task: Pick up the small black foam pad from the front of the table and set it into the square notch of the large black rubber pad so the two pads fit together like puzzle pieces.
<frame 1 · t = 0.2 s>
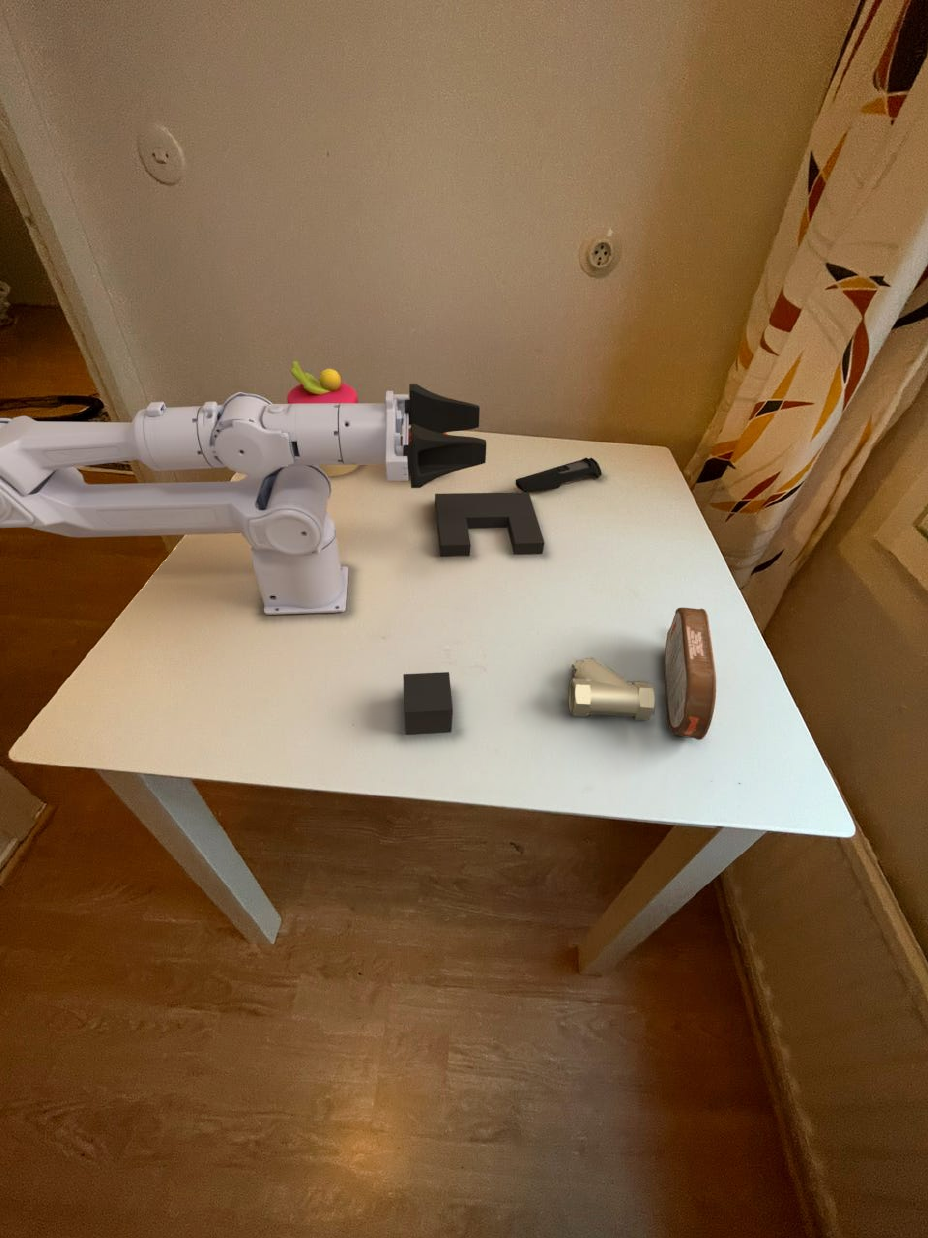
hand: (482, 433, 55), 21 cm above the table, tool horizontal, fingers open, 7 cm apart
electric trimmer: (558, 485, 89), on the table
cake: (331, 460, 91), on the table
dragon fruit: (424, 469, 90), on the table
pipe fitting: (603, 698, 60), on the table
pad: (427, 714, 57), on the table
tin: (674, 694, 61), on the table
pad base: (486, 528, 80), on the table
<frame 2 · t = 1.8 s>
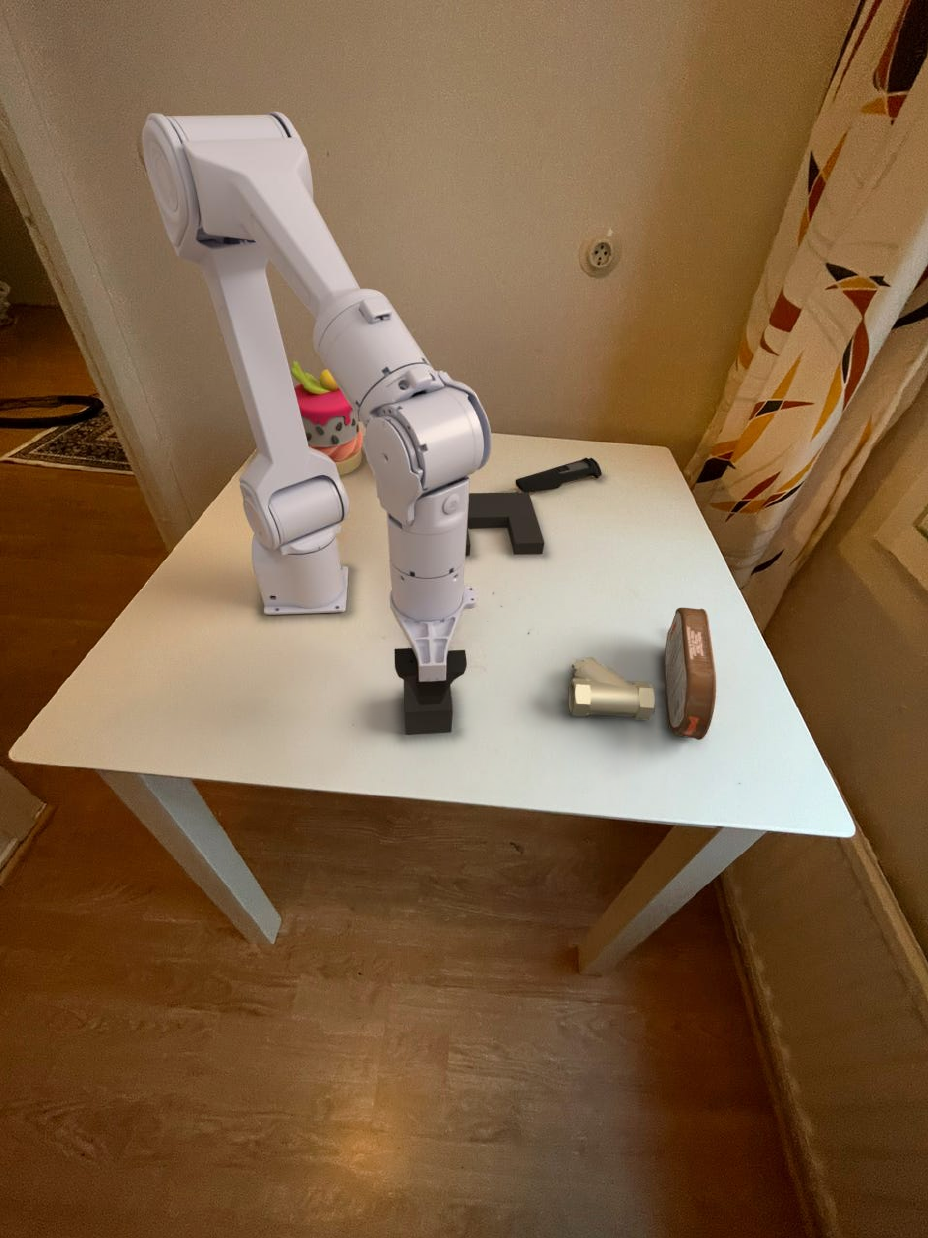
hand: (427, 667, 52), 8 cm above the table, tool pointing down, fingers open, 7 cm apart
nothing on the table moved.
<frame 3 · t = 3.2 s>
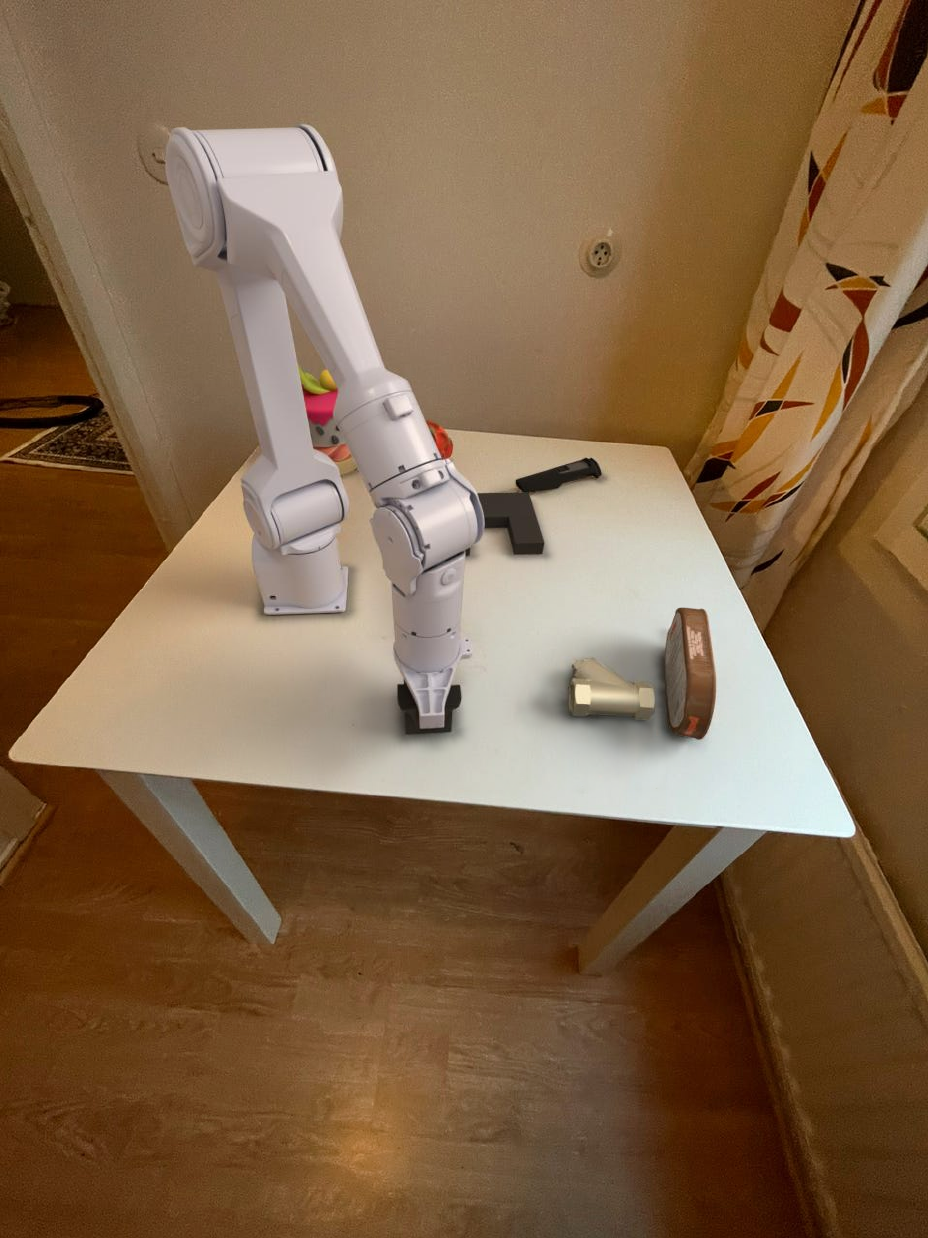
hand: (427, 706, 56), 1 cm above the table, tool pointing down, fingers closed on pad, 4 cm apart
pad: (427, 714, 58), on the table, touching gripper
everything else where it was.
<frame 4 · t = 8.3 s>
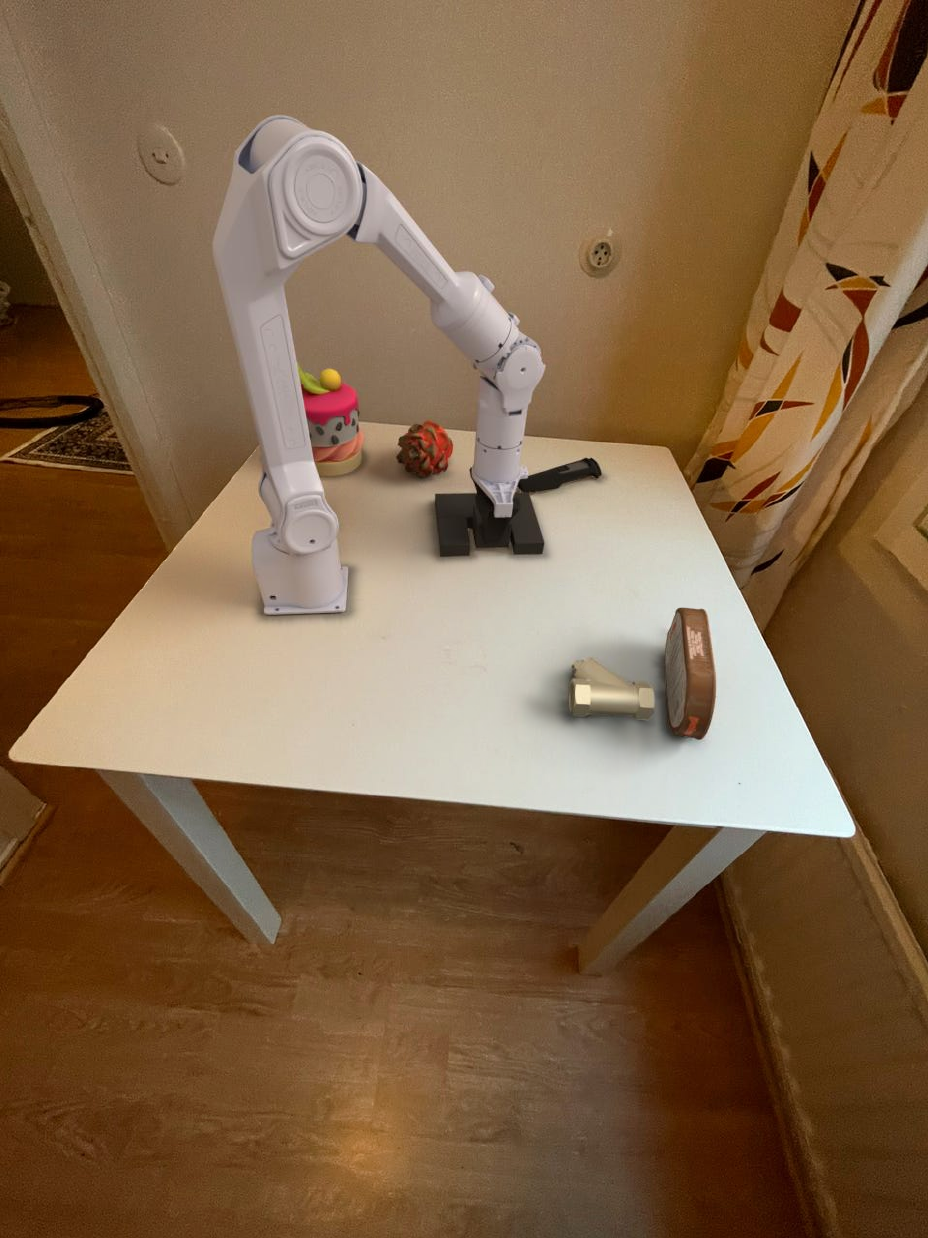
hand: (490, 529, 76), 2 cm above the table, tool pointing down, fingers closed on pad, 4 cm apart
pad: (489, 537, 77), point 1 cm above the table, touching gripper
everything else where it was.
when the fingers open (3 cm above the table, at t = 16.3 s): pad drops 2 cm, on the table.
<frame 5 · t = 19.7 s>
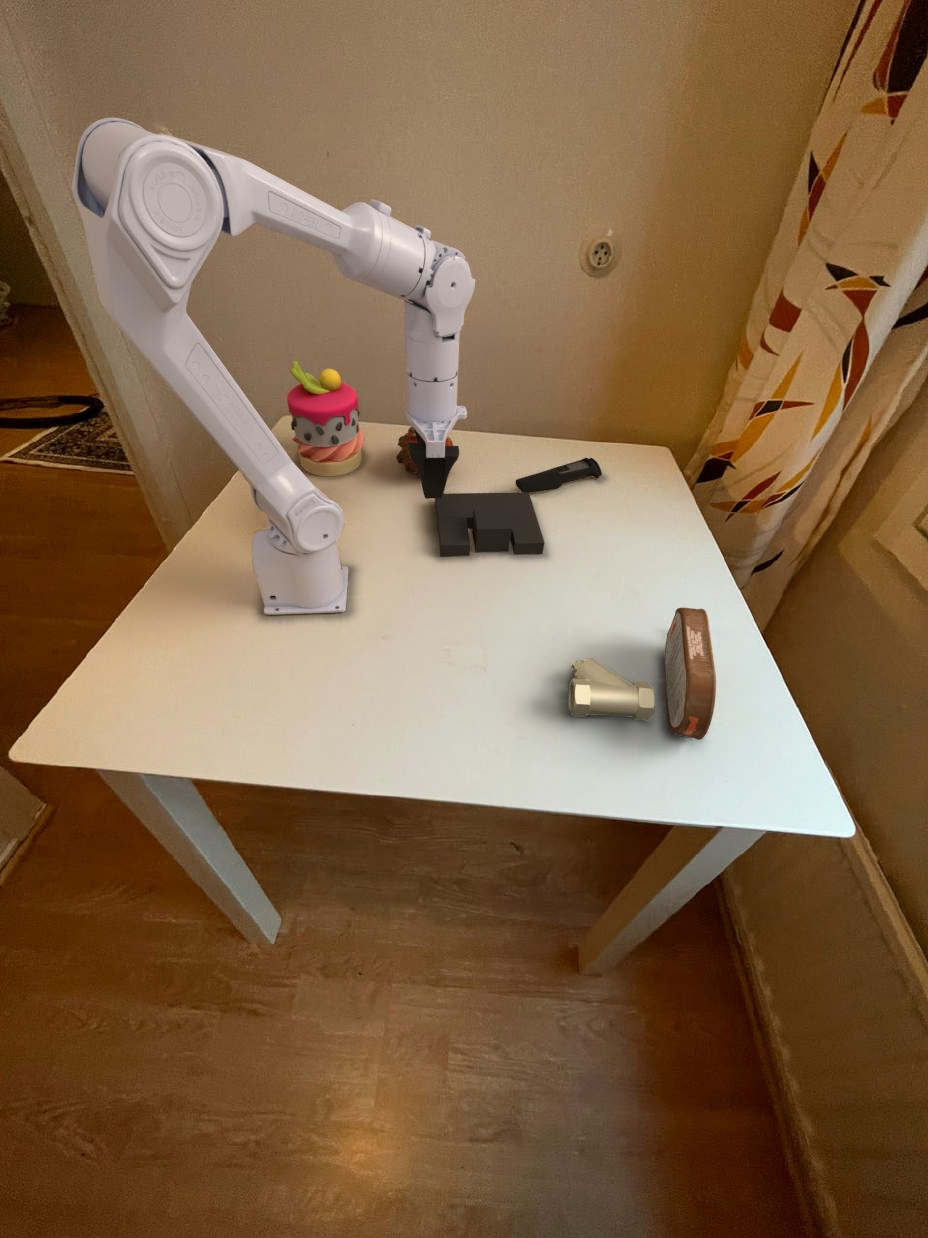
hand: (431, 479, 71), 9 cm above the table, tool pointing down, fingers open, 7 cm apart
pad: (489, 541, 78), on the table
everything else where it was.
at the end: pad 0.1 cm from the target spot on the pad base, point 0.0 cm above the pad base's base; pad tilted 0° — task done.
